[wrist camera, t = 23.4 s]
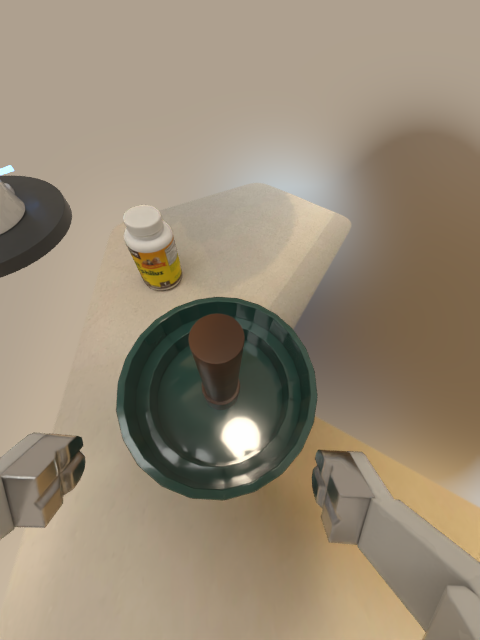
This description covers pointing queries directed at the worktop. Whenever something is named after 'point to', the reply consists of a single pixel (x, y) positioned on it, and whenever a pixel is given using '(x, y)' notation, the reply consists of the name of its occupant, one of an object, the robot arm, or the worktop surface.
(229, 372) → the brown flanged cylinder
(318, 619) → the worktop surface
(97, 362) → the worktop surface
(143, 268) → the supplement bottle
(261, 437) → the bowl
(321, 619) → the worktop surface
